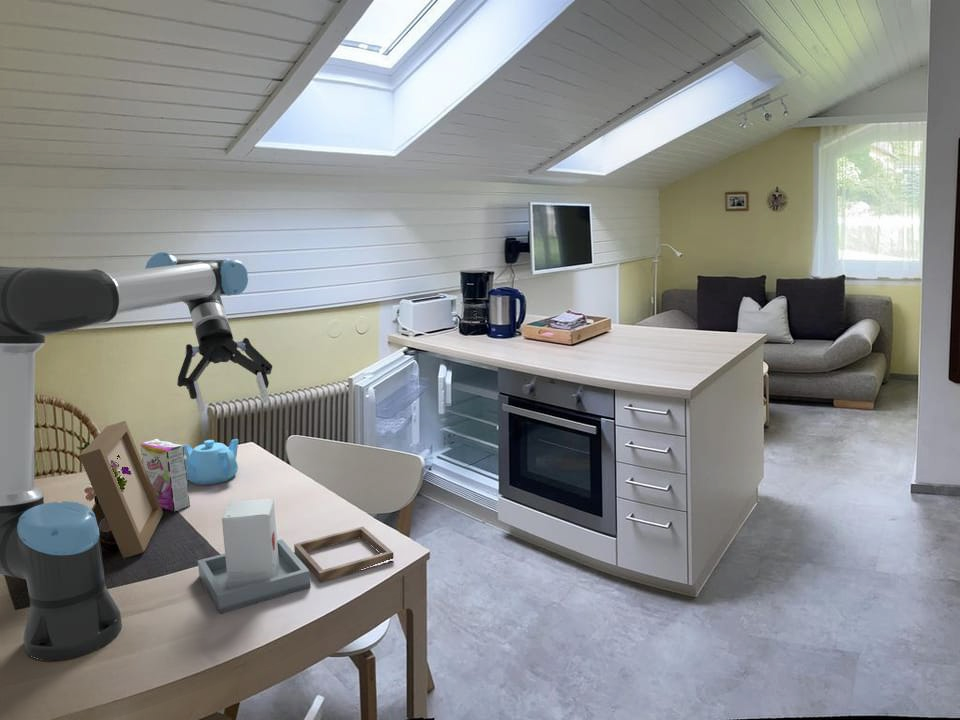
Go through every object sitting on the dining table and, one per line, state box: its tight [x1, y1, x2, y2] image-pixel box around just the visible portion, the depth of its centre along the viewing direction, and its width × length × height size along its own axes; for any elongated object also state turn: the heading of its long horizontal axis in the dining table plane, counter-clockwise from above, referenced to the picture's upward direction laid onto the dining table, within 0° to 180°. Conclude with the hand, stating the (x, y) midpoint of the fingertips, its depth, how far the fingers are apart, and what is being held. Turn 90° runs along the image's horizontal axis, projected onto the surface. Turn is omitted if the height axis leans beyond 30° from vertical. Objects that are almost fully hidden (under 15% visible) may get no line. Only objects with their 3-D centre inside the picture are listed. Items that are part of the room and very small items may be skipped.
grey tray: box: [197, 539, 311, 614], centre depth 151 cm, size 17×17×4 cm
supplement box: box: [221, 497, 279, 590], centre depth 149 cm, size 9×9×15 cm
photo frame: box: [78, 420, 164, 559], centre depth 170 cm, size 15×22×25 cm
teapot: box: [182, 438, 239, 486], centre depth 210 cm, size 15×15×11 cm
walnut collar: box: [293, 526, 395, 583], centre depth 161 cm, size 16×16×2 cm
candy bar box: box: [139, 438, 191, 513], centre depth 190 cm, size 11×5×16 cm, turn 58°
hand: (234, 404), depth 163 cm, fingers open, 13 cm apart
